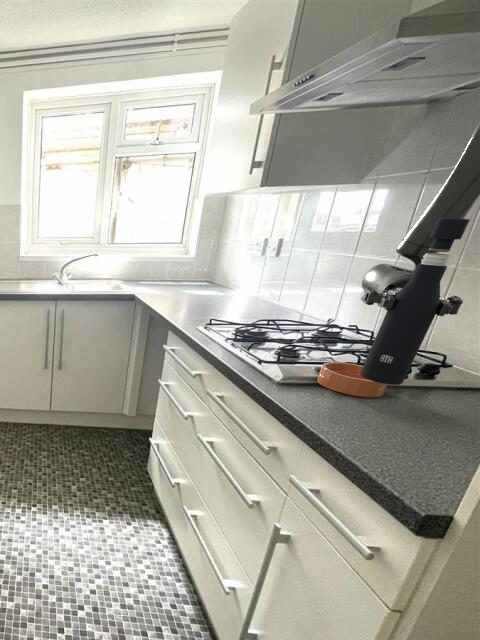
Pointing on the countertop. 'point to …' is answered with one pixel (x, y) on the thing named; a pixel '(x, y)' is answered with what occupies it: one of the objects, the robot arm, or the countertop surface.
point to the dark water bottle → (412, 310)
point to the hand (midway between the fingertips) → (416, 307)
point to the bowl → (348, 380)
